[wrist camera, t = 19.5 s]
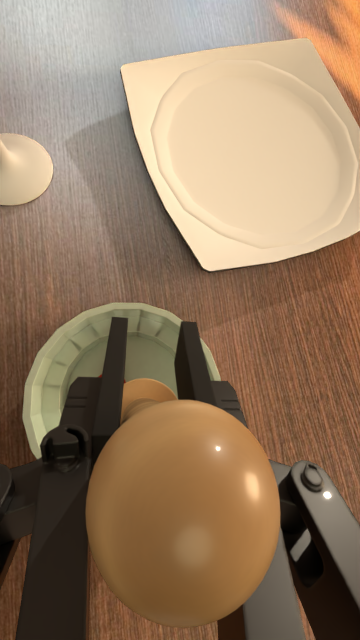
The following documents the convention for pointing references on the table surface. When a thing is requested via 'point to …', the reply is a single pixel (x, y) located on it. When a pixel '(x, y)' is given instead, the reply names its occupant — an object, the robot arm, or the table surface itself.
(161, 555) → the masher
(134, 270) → the table surface
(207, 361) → the bowl
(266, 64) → the plate
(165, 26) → the table surface
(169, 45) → the table surface
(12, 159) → the wineglass
